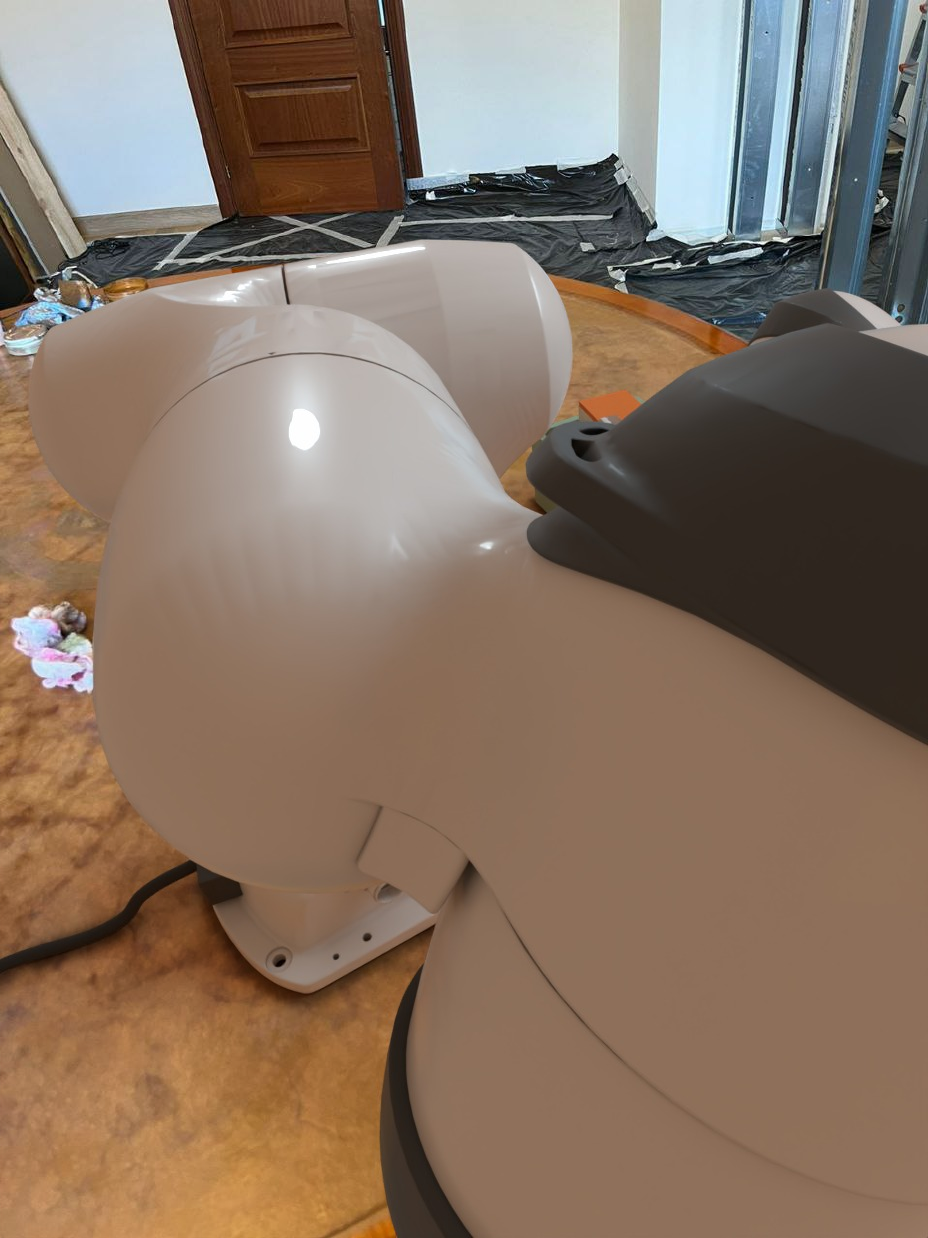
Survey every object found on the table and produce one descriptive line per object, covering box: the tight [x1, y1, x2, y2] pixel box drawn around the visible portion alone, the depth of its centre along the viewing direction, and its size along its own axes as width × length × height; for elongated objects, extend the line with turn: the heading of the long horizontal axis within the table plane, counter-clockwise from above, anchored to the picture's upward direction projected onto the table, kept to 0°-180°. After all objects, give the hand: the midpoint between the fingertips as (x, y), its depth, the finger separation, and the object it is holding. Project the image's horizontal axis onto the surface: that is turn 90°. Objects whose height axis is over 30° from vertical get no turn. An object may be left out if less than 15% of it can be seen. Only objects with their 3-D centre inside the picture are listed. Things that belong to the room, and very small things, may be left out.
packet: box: [577, 389, 642, 422], centre depth 85 cm, size 5×7×11 cm
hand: (656, 410), depth 73 cm, fingers open, 8 cm apart
